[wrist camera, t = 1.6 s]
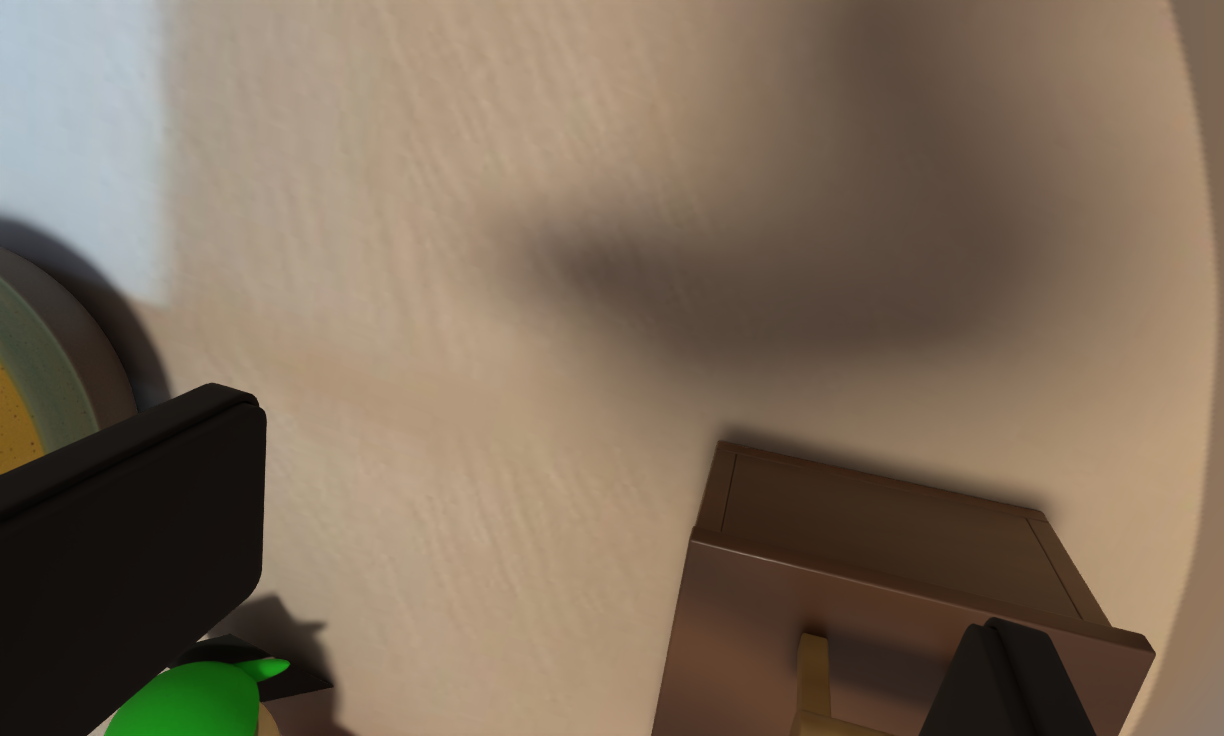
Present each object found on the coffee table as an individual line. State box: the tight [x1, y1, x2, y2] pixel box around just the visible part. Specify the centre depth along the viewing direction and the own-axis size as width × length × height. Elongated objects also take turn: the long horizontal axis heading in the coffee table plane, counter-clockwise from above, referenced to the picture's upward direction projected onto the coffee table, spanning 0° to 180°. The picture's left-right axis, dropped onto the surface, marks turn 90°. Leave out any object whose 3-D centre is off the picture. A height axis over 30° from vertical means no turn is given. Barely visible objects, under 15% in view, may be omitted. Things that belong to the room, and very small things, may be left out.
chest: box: [695, 441, 1112, 627], centre depth 26 cm, size 15×12×8 cm
